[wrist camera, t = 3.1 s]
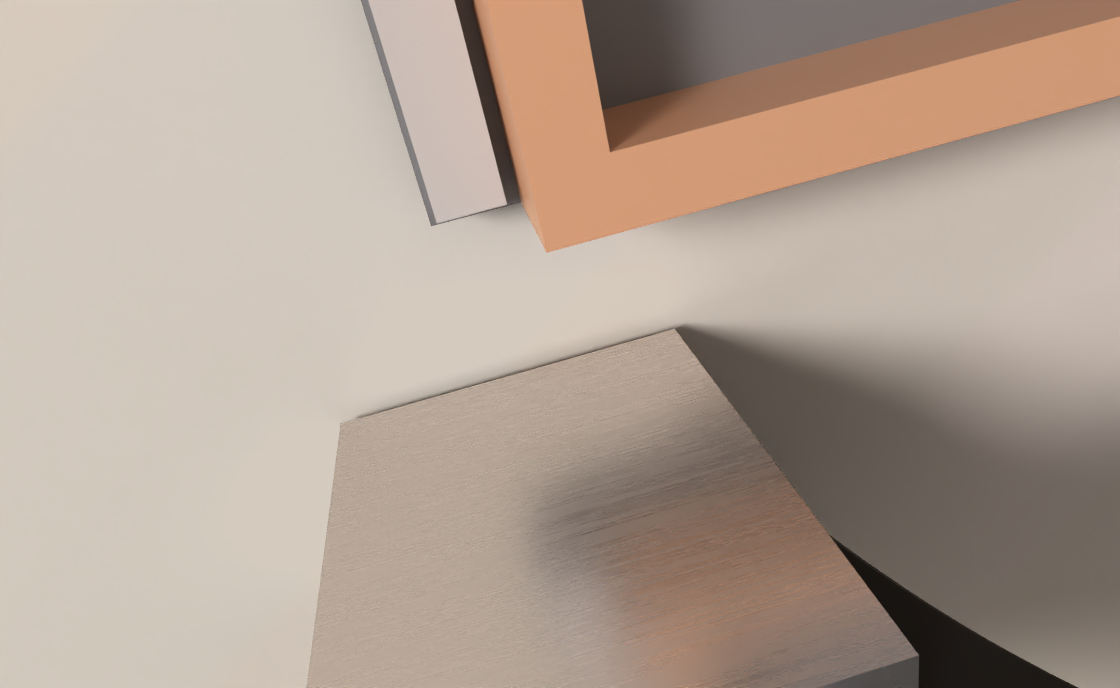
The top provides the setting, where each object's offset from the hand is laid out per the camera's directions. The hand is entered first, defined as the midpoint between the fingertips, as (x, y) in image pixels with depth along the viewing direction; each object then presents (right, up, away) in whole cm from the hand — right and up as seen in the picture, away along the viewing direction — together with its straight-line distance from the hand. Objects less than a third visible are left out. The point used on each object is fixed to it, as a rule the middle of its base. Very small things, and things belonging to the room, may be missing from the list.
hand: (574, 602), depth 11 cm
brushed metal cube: (0, +1, +1) cm, 2 cm away
